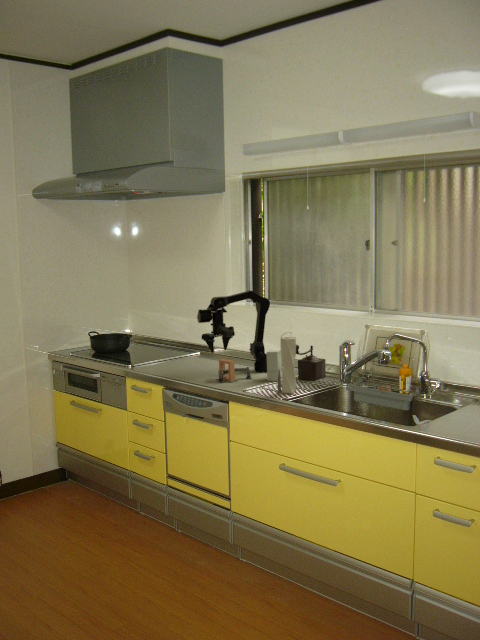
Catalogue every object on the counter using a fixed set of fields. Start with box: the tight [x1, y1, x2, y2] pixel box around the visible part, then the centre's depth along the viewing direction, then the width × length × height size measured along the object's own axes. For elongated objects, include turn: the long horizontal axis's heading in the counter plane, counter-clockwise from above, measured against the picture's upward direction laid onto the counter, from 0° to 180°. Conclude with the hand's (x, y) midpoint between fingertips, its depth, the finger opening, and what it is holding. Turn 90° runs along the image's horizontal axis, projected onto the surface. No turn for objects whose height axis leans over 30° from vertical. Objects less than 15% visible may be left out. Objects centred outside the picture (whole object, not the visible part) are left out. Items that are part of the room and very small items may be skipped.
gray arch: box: [217, 366, 252, 383], centre depth 336 cm, size 17×9×6 cm, turn 90°
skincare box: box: [265, 349, 283, 382], centre depth 334 cm, size 8×6×15 cm
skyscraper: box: [277, 331, 297, 395], centre depth 308 cm, size 8×8×28 cm
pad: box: [215, 378, 239, 384], centre depth 336 cm, size 5×11×1 cm, turn 45°
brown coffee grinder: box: [296, 343, 327, 382], centre depth 334 cm, size 16×11×18 cm
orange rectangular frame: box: [218, 358, 236, 382], centre depth 336 cm, size 3×8×10 cm, turn 45°
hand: (218, 351), depth 346 cm, fingers open, 9 cm apart
